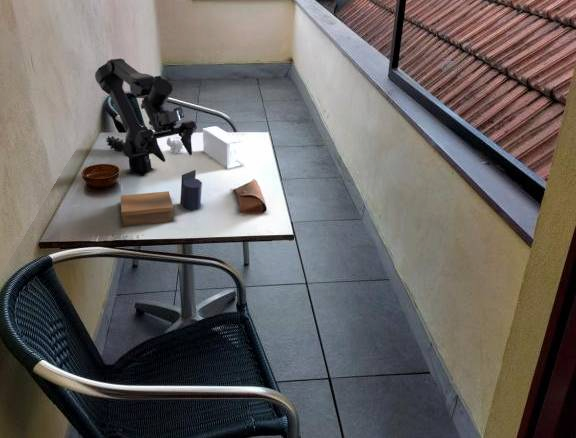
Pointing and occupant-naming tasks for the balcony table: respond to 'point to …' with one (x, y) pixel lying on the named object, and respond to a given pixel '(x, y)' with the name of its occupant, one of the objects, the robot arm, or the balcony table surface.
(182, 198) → the speaker
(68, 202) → the balcony table surface
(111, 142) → the pine cone
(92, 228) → the balcony table surface
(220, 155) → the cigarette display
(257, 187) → the sunglasses case
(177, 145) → the white coral
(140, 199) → the wooden block base
